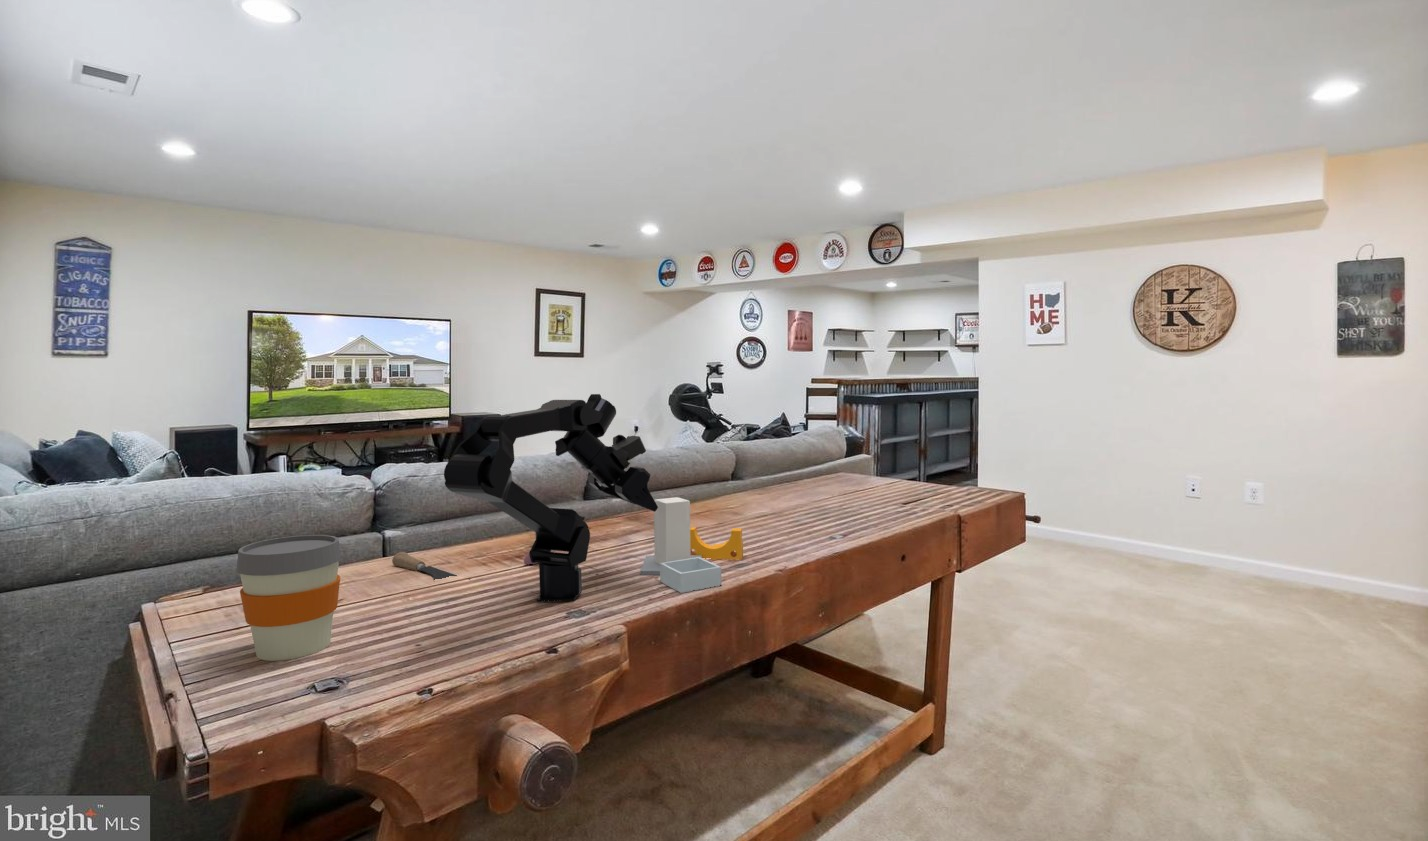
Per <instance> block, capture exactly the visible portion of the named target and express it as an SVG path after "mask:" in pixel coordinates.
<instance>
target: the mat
mask: <svg viewBox="0 0 1428 841" xmlns="http://www.w3.org/2000/svg"><path fill="white" fill-rule="evenodd" d="M690 557H691V558H696V557H700V558H702V555H690ZM639 574H640V576H660V564H658V563H656V562H655V555H646V556H645V558H644V560H643V564H642V565H641V568H640V572H639Z"/></svg>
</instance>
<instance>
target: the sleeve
mask: <svg viewBox="0 0 1428 841" xmlns="http://www.w3.org/2000/svg"><path fill="white" fill-rule="evenodd" d="M659 582H661V583H662V584H664V585H665V586H668V587H669V588H671V589H673V590H675V591H677V592H678V593H680V594H682V593H683V594H684V593H689V592H693V590H695V591H698V590H699V589H700V590H704V588H706V589H710V587H711V588H715V587H714V586H716V587H720V585H721V586H722V566H720V565H718V564H715V563H713V562H711V561H708V559H702V558H700V557H696V558H690V559H684V560H677V561H671V562H665V563H660V575H659ZM700 590H699V591H700Z"/></svg>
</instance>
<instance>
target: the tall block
mask: <svg viewBox="0 0 1428 841" xmlns="http://www.w3.org/2000/svg"><path fill="white" fill-rule="evenodd" d="M654 501H655V503H656V504H657V506H658V509H657V510H656V511H655V512H654V511H653V531H654V532H653V536H654V540H653V542H654V544H653V546H654V548H653V549H654V556H655V562H656V563H658V564H660V563H665V562H671V561H677V560H684V559H690V558H691V557H690V527H691V501H690V500H688V499H685V498H681V497H679V496H678V497H677V496H676V497H667V498H657V499H654Z"/></svg>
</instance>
